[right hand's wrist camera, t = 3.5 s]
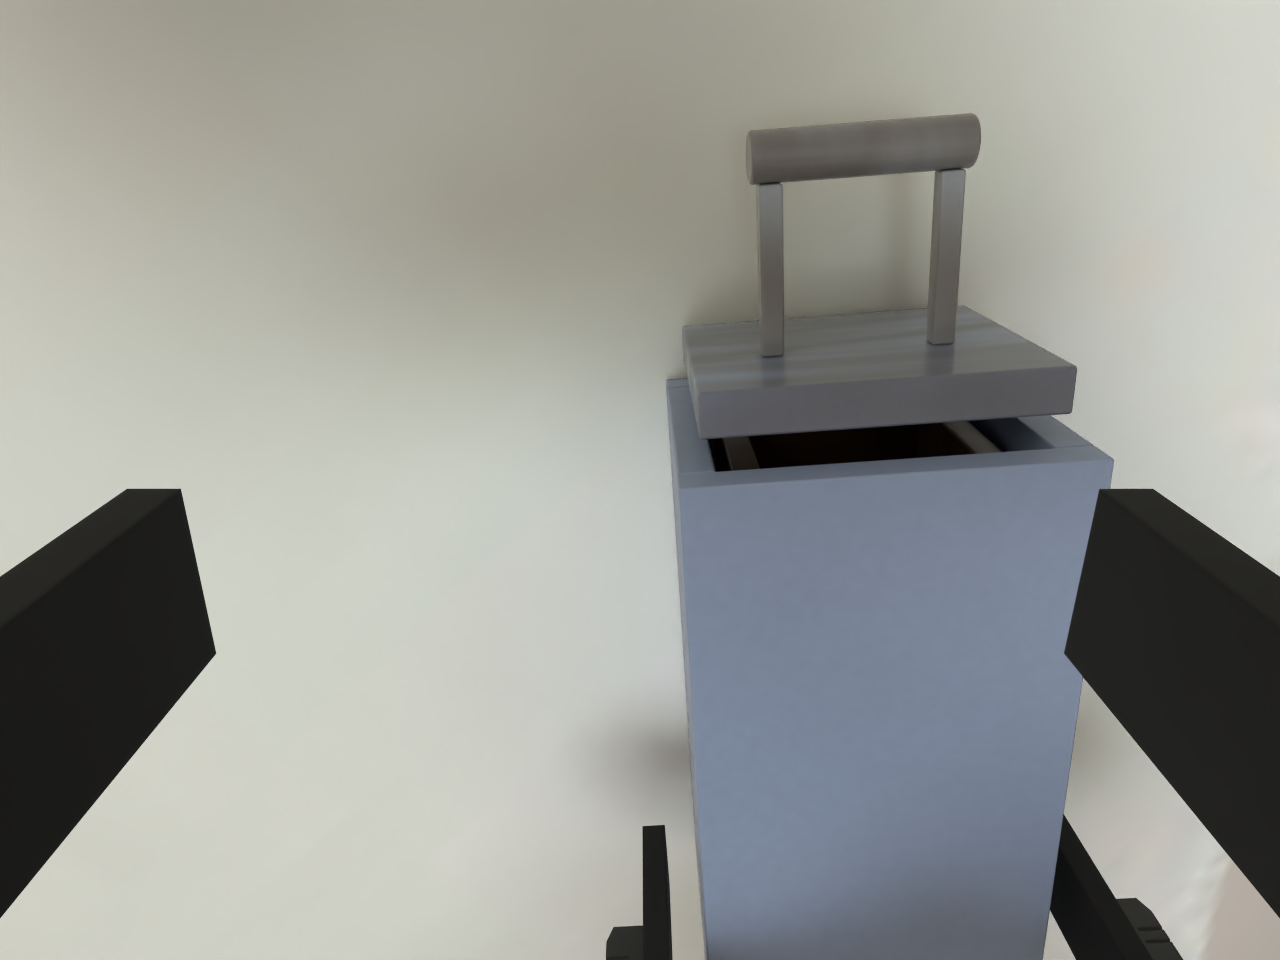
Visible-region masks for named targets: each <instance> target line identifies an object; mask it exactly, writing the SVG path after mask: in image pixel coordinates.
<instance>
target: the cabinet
mask: <svg viewBox="0 0 1280 960" xmlns="http://www.w3.org/2000/svg"><path fill="white" fill-rule="evenodd" d="M666 388H667V404H668V420H669V435H670V451H671V466H672V482H673V498H674V513H675V529H676V544H677V560H678V575H679V591H680V607H681V622H682V638H683V653H684V669H685V684H686V700H687V716H688V731H689V747H690V762H691V778H692V793H693V809H694V825H695V840H696V853H697V865H698V877H699V889H700V902H701V914H702V926H703V939H704V951H705V960H1043V953H1044V946H1045V939H1046V932H1047V925H1048V918H1049V911H1050V904H1051V897H1052V890H1053V883H1054V876H1055V869H1056V862H1057V855H1058V848H1059V841H1060V834H1061V827H1062V820H1063V813H1064V806H1065V799H1066V792H1067V785H1068V778H1069V771H1070V764H1071V757H1072V750H1073V743H1074V736H1075V729H1076V722H1077V715H1078V708H1079V701H1080V694H1081V687H1082V680H1083V676H1082V675H1081V674H1080V673H1079V671H1078V670H1077V669H1076V668H1075V666H1074V665H1073V664H1072V663H1071V662H1070V660H1069V659H1068V658H1067V657H1066V655H1065V654H1064V651H1065V646H1066V641H1067V637H1068V632H1069V627H1070V623H1071V618H1072V613H1073V609H1074V604H1075V599H1076V595H1077V590H1078V585H1079V581H1080V576H1081V572H1082V567H1083V562H1084V558H1085V553H1086V548H1087V544H1088V539H1089V534H1090V530H1091V525H1092V520H1093V516H1094V511H1095V506H1096V502H1097V497H1098V493H1099V489H1110V485H1111V478H1112V471H1113V464H1114V460H1113V458H1111V457H1110V456H1108V455H1107V454H1106V453H1104V452H1103V451H1101V450H1100V449H1098V448H1097V447H1095V446H1093V444H1091V443H1090V442H1088V441H1087V440H1085V439H1084V438H1082V437H1081V436H1080V435H1078V434H1077V433H1075V432H1074V431H1072V430H1071V429H1069V428H1068V427H1067V426H1065V425H1064V424H1062V423H1061V422H1059V421H1058V420H1056V419H1055V418H1054V417H1052V416H1051V415H1044V416H1030V417H1015V418H1001V419H987V420H973V421H969V422H970V423H971V424H972V425H973V426H974V427H975V428H977V429H978V430H979V431H980V432H981V433H982V434H983V435H984V436H986V437H987V438H988V439H989V440H990V441H991V442H992V443H994V444H995V445H996V446H997V447H998V448H999V449H1000V450H1002V451H1003V452H997V453H982V454H968V455H953V456H939V457H924V458H910V459H896V460H881V461H867V462H852V463H838V464H823V465H809V466H795V467H780V468H766V469H751V470H737V471H722V472H717V471H716V448H715V439H700V437H699V434H698V429H697V424H696V419H695V414H694V409H693V404H692V399H691V394H690V389H689V384H688V379H674V380H666Z"/></svg>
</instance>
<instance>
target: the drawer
mask: <svg viewBox="0 0 1280 960" xmlns="http://www.w3.org/2000/svg"><path fill="white" fill-rule="evenodd" d="M980 143H981V129H980V123H979V120H978V117H977V116H976V115H975V114H972V113H968V114H955V115H943V116H930V117H917V118H905V119H892V120H880V121H867V122H854V123H842V124H829V125H816V126H804V127H791V128H779V129H766V130H753V131H750V132H748V135H747V140H746V168H747V177H748V181H749V183H750V184H751V185H757V184H758V185H757V186H756V202H757V248H758V295H759V321H748V322H735V323H721V324H707V325H694V326H684V327H683V328H682V336H683V354H684V364H685V369H686V374H687V379H688V384H689V389H690V394H691V399H692V404H693V409H694V414H695V419H696V424H697V429H698V434H699V437H700V439H715V448H716V471H717V472H722V471H737V470H751V469H766V468H780V467H795V466H809V465H823V464H838V463H852V462H867V461H881V460H896V459H910V458H924V457H939V456H953V455H968V454H982V453H997V452H1003V451H1002V450H1000V449H999V448H998V447H997V446H996V445H995V444H994V443H992V442H991V441H990V440H989V439H988V438H987V437H986V436H984V435H983V434H982V433H981V432H980V431H979V430H978V429H977V428H975V427H974V426H973V425H972V424H971V423H970V422H969V421H973V420H987V419H1001V418H1015V417H1030V416H1044V415H1058V414H1069V413H1071V412H1072V407H1073V399H1074V390H1075V382H1076V374H1077V367H1076V366H1075V365H1073V364H1071V363H1069V362H1067V361H1066V360H1064V359H1062V358H1060V357H1058V356H1056V355H1054V354H1053V353H1051V352H1049V351H1047V350H1045V349H1043V348H1041V347H1040V346H1038V345H1036V344H1034V343H1032V342H1030V341H1028V340H1027V339H1025V338H1023V337H1021V336H1019V335H1017V334H1015V333H1014V332H1012V331H1010V330H1008V329H1006V328H1004V327H1002V326H1001V325H999V324H997V323H995V322H993V321H991V320H989V319H988V318H986V317H984V316H982V315H980V314H978V313H977V312H975V311H973V310H971V309H969V308H967V307H965V306H957V298H958V283H959V267H960V252H961V236H962V221H963V205H964V190H965V175H966V171H965V170H964V169H963V168H970V167H972V166H973V165H974V164H975V162H976V160H977V158H978V154H979V150H980ZM925 171H936V172H935V183H934V202H933V221H932V240H931V259H930V278H929V298H928V308H925V309H911V310H898V311H884V312H870V313H857V314H843V315H830V316H816V317H803V318H789V319H784V261H783V186H782V184H780V183H783V182H796V181H809V180H822V179H834V178H847V177H860V176H873V175H886V174H899V173H912V172H925Z"/></svg>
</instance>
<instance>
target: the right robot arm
mask: <svg viewBox="0 0 1280 960" xmlns="http://www.w3.org/2000/svg"><path fill="white" fill-rule="evenodd" d="M215 654H216V651H215V646H214V641H213V637H212V632H211V627H210V623H209V618H208V613H207V609H206V604H205V599H204V595H203V590H202V585H201V581H200V576H199V572H198V567H197V562H196V558H195V553H194V548H193V544H192V539H191V534H190V530H189V525H188V520H187V516H186V511H185V506H184V502H183V497H182V493H181V489H126V490H125V491H123V492H122V493H121V494H119V495H118V496H116V497H115V498H113V499H112V500H110V501H109V502H108V503H106V504H105V505H103V506H102V507H100V508H99V509H97V510H96V511H95V512H93V513H92V514H90V515H89V516H87V517H86V518H84V519H83V520H82V521H80V522H79V523H77V524H76V525H74V526H73V527H71V528H70V529H69V530H67V531H66V532H64V533H63V534H61V535H60V536H58V537H57V538H56V539H54V540H53V541H51V542H50V543H48V544H47V545H45V546H44V547H43V548H41V549H40V550H38V551H37V552H35V553H34V554H32V555H31V556H30V557H28V558H27V559H25V560H24V561H22V562H21V563H19V564H18V565H17V566H15V567H14V568H12V569H11V570H9V571H8V572H6V573H5V574H4V575H2V576H1V577H0V918H1V917H2V915H3V914H4V913H5V912H6V910H7V909H8V908H9V907H10V906H11V904H12V903H13V902H14V901H15V899H16V898H17V897H18V896H19V895H20V893H21V892H22V891H23V890H24V888H25V887H26V886H27V885H28V883H29V882H30V881H31V880H32V879H33V877H34V876H35V875H36V874H37V872H38V871H39V870H40V869H41V868H42V866H43V865H44V864H45V863H46V861H47V860H48V859H49V858H50V857H51V855H52V854H53V853H54V852H55V850H56V849H57V848H58V847H59V845H60V844H61V843H62V842H63V841H64V839H65V838H66V837H67V836H68V834H69V833H70V832H71V831H72V830H73V828H74V827H75V826H76V825H77V823H78V822H79V821H80V820H81V819H82V817H83V816H84V815H85V814H86V812H87V811H88V810H89V809H90V807H91V806H92V805H93V804H94V803H95V801H96V800H97V799H98V798H99V796H100V795H101V794H102V793H103V792H104V790H105V789H106V788H107V787H108V785H109V784H110V783H111V782H112V780H113V779H114V778H115V777H116V776H117V774H118V773H119V772H120V771H121V769H122V768H123V767H124V766H125V765H126V763H127V762H128V761H129V760H130V758H131V757H132V756H133V755H134V754H135V752H136V751H137V750H138V749H139V747H140V746H141V745H142V744H143V742H144V741H145V740H146V739H147V738H148V736H149V735H150V734H151V733H152V731H153V730H154V729H155V728H156V727H157V725H158V724H159V723H160V722H161V720H162V719H163V718H164V717H165V716H166V714H167V713H168V712H169V711H170V709H171V708H172V707H173V706H174V704H175V703H176V702H177V701H178V700H179V698H180V697H181V696H182V695H183V693H184V692H185V691H186V690H187V689H188V687H189V686H190V685H191V684H192V682H193V681H194V680H195V679H196V678H197V676H198V675H199V674H200V673H201V671H202V670H203V669H204V668H205V666H206V665H207V664H208V663H209V662H210V660H211V659H212V658H213V657H214V655H215ZM1064 654H1065V655H1066V657H1067V658H1068V659H1069V660H1070V662H1071V663H1072V664H1073V665H1074V666H1075V668H1076V669H1077V670H1078V671H1079V673H1080V674H1081V675H1082V676H1083V678H1084V679H1085V680H1086V681H1087V682H1088V684H1089V685H1090V686H1091V687H1092V689H1093V690H1094V691H1095V692H1096V693H1097V695H1098V696H1099V697H1100V698H1101V700H1102V701H1103V702H1104V703H1105V704H1106V706H1107V707H1108V708H1109V709H1110V711H1111V712H1112V713H1113V714H1114V716H1115V717H1116V718H1117V719H1118V720H1119V722H1120V723H1121V724H1122V725H1123V727H1124V728H1125V729H1126V730H1127V731H1128V733H1129V734H1130V735H1131V736H1132V738H1133V739H1134V740H1135V741H1136V742H1137V744H1138V745H1139V746H1140V747H1141V749H1142V750H1143V751H1144V752H1145V754H1146V755H1147V756H1148V757H1149V758H1150V760H1151V761H1152V762H1153V763H1154V765H1155V766H1156V767H1157V768H1158V769H1159V771H1160V772H1161V773H1162V774H1163V776H1164V777H1165V778H1166V779H1167V780H1168V782H1169V783H1170V784H1171V785H1172V787H1173V788H1174V789H1175V790H1176V792H1177V793H1178V794H1179V795H1180V796H1181V798H1182V799H1183V800H1184V801H1185V803H1186V804H1187V805H1188V806H1189V807H1190V809H1191V810H1192V811H1193V812H1194V814H1195V815H1196V816H1197V817H1198V819H1199V820H1200V821H1201V822H1202V823H1203V825H1204V826H1205V827H1206V828H1207V830H1208V831H1209V832H1210V833H1211V834H1212V836H1213V837H1214V838H1215V839H1216V841H1217V842H1218V843H1219V844H1220V845H1221V847H1222V848H1223V849H1224V850H1225V852H1226V853H1227V854H1228V855H1229V857H1230V858H1231V859H1232V860H1233V861H1234V863H1235V864H1236V865H1237V866H1238V868H1239V869H1240V870H1241V871H1242V872H1243V874H1244V875H1245V876H1246V877H1247V879H1248V880H1249V881H1250V882H1251V883H1252V885H1253V886H1254V887H1255V888H1256V889H1257V891H1258V892H1259V893H1260V895H1261V896H1262V897H1263V898H1264V899H1265V901H1266V902H1267V903H1268V904H1269V905H1270V907H1271V908H1272V909H1273V910H1274V912H1275V913H1276V914H1277V915H1278V917H1279V918H1280V577H1279V576H1278V575H1276V574H1275V573H1274V572H1272V571H1271V570H1269V569H1268V568H1266V567H1265V566H1264V565H1262V564H1261V563H1259V562H1258V561H1256V560H1255V559H1253V558H1252V557H1250V556H1249V555H1248V554H1246V553H1245V552H1243V551H1242V550H1240V549H1239V548H1237V547H1236V546H1235V545H1233V544H1232V543H1230V542H1229V541H1227V540H1226V539H1224V538H1223V537H1222V536H1220V535H1219V534H1217V533H1216V532H1214V531H1213V530H1211V529H1210V528H1209V527H1207V526H1206V525H1204V524H1203V523H1201V522H1200V521H1198V520H1197V519H1196V518H1194V517H1193V516H1191V515H1190V514H1188V513H1187V512H1185V511H1184V510H1183V509H1181V508H1180V507H1178V506H1177V505H1175V504H1174V503H1172V502H1171V501H1170V500H1168V499H1167V498H1165V497H1164V496H1162V495H1161V494H1159V493H1158V492H1157V491H1155V490H1154V489H1099V493H1098V497H1097V502H1096V506H1095V511H1094V516H1093V520H1092V525H1091V530H1090V534H1089V539H1088V544H1087V548H1086V553H1085V558H1084V562H1083V567H1082V572H1081V576H1080V581H1079V585H1078V590H1077V595H1076V599H1075V604H1074V609H1073V613H1072V618H1071V623H1070V627H1069V632H1068V637H1067V641H1066V646H1065V651H1064Z"/></svg>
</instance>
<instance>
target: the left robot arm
mask: <svg viewBox="0 0 1280 960" xmlns="http://www.w3.org/2000/svg"><path fill="white" fill-rule="evenodd" d="M1050 911H1051V913H1052V914H1053V916H1054V918H1055V920H1056V922H1057V924H1058V926H1059V928H1060V930H1061V932H1062V934H1063V935H1064V937H1065V939H1066V941H1067V943H1068V945H1069V947H1070V949H1071V951H1072V953H1073V955H1074V956H1075V958H1076V960H1183V959H1182V957H1181V956H1180V954H1179V953H1178V951H1177V950H1176V948H1175V946H1174V945H1173V943H1172V942H1170V939H1169V937H1168V936H1167V934H1166V933H1165V931H1164V930H1162V927H1161V925H1160V923H1159V922H1158V920H1157V919H1156V917H1155V916H1154V914H1153V913H1152V911H1151V910H1149V909H1148V908H1147V907H1146V906H1145V905H1144V904H1142V903H1141V902H1140V901H1139V900H1138V899H1137V898H1127V899H1116V898H1115V897H1114V895H1113V894H1112V892H1111V890H1110V889H1109V887H1108V885H1107V884H1106V882H1105V881H1104V879H1103V877H1102V876H1101V874H1100V872H1099V871H1098V869H1097V868H1096V866H1095V864H1094V863H1093V861H1092V859H1091V858H1090V856H1089V855H1088V853H1087V851H1086V850H1085V848H1084V847H1083V845H1082V843H1081V842H1080V840H1079V838H1078V837H1077V835H1076V834H1075V832H1074V830H1073V829H1072V827H1071V825H1070V824H1069V822H1068V821H1067V819H1066V817H1065V816H1064V814H1063V820H1062V827H1061V834H1060V841H1059V848H1058V855H1057V862H1056V869H1055V876H1054V883H1053V890H1052V897H1051V904H1050ZM606 960H672V937H671V912H670V886H669V873H668V860H667V848H666V836H665V825H657V826H643V926H627V927H614V928H613V930H612V932H611V934H610V936H609V938H608V940H607V945H606Z"/></svg>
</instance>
